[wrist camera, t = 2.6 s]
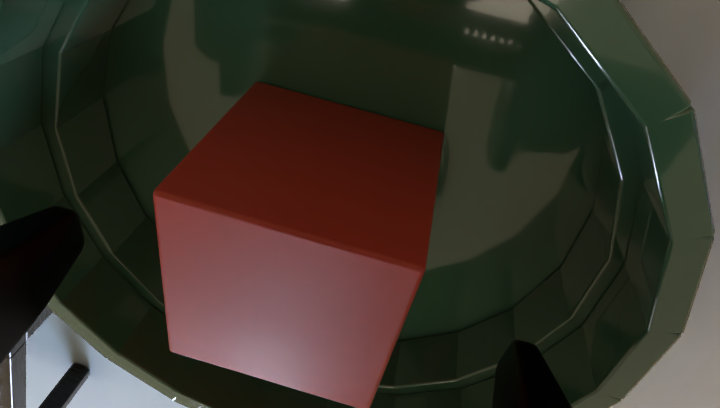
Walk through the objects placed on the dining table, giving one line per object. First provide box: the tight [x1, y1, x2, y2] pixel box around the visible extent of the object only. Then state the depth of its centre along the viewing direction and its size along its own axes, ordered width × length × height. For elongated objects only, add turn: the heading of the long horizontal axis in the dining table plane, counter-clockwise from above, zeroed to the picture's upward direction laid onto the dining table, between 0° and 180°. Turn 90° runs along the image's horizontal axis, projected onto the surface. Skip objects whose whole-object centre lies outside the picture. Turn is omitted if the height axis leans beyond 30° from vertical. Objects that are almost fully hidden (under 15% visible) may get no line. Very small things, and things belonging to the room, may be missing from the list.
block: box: [153, 82, 444, 408], centre depth 11 cm, size 4×4×4 cm
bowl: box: [0, 0, 715, 408], centre depth 11 cm, size 14×14×4 cm
